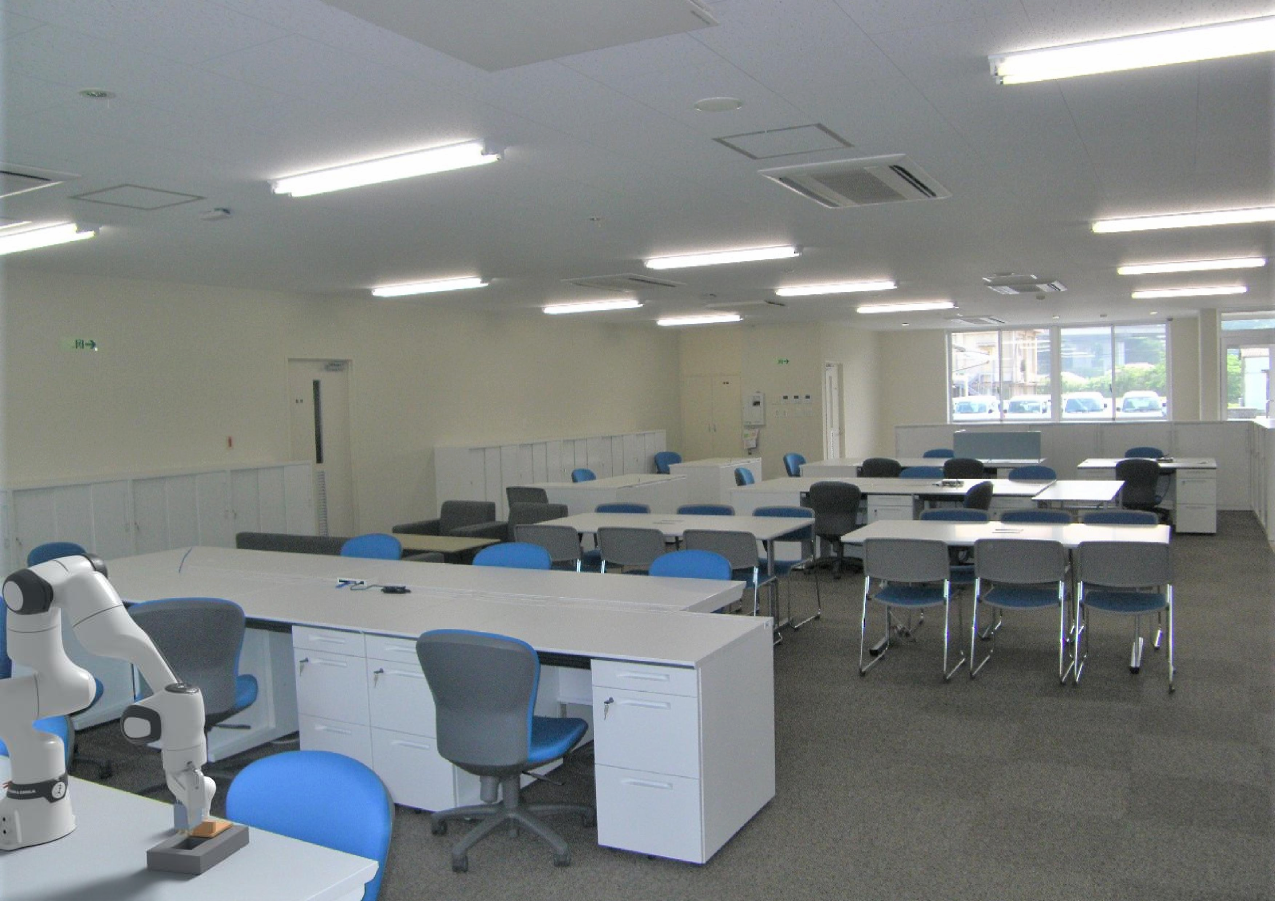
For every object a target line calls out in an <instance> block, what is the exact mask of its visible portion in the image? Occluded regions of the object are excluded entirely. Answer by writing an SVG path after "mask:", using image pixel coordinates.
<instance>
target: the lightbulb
mask: <svg viewBox="0 0 1275 901" xmlns="http://www.w3.org/2000/svg"><path fill="white" fill-rule="evenodd" d="M204 780H205V788H206V807H205V808H202V815H204V816H202V820H209V818H208V817H207V816H209V817H210V810H211V803H212V799H213V797H214V796H215V794H216V789H217V786H216V783H215V781H214V780H213V779H212V778H211V777H209V776H205V775H204ZM205 816H206V817H205Z"/></svg>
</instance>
